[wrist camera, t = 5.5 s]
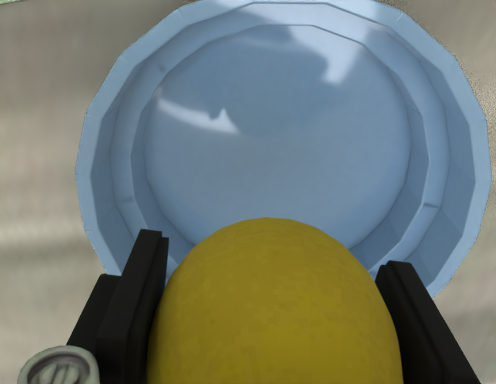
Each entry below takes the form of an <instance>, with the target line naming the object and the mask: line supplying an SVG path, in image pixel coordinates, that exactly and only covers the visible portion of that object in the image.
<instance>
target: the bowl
mask: <svg viewBox="0 0 496 384" xmlns="http://www.w3.org/2000/svg"><path fill="white" fill-rule="evenodd" d="M75 179H76V185H77V191H78V197H79V203H80V209H81V215H82V221H83V227H84V230H85V233H86V235H87V237H88V239H89V241H90V242H91V244H92V246H93V248H94V250H95V252H96V254H97V255H98V257H99V259H100V261H101V263H102V265H103V267H104V269H105V270H106V272H107V274H109V275H118V276H121V275H122V272H123V270H124V268H125V265H126V263H127V260H128V258H129V255H130V253H131V251H132V248H133V246H134V243H135V241H136V239H137V236H138V234H139V231H140V229H149V230H157V231H162V237H169V249H168V260H167V271H166V282H165V287H166V285H167V282H168V280H169V278H170V277H171V275H172V273H173V272H174V270H175V269H176V268H177V267H178V265H179V264H180V263H181V262H182V261H183V259H184V258H185V257H186V256H187V255H188V254H189V252H190V251H191V250H192V249H193V248H194V247H195V246H196V245H197V244H199V243H200V242H201V241H203V240H204V239H206V238H207V237H209V236H210V235H211V234H213V233H214V232H216V231H217V230H219V229H221V228H224V227H226V226H229V225H231V224H234V223H237V222H239V221H242V220H249V219H256V218H263V217H271V218H283V219H292V220H295V221H299V222H302V223H305V224H308V225H311V226H314V227H316V228H318V229H320V230H321V231H323V232H324V233H326V234H328V235H329V236H331V237H333V238H334V239H336V240H337V241H339V242H341V243H342V244H343V245H344V246H345V247H346V248H347V249H348V250H349V251H350V252H351V253H352V254H353V256H354V257H355V258H356V259H357V260H358V261H359V262H360V263H361V264H362V265H363V266H364V268H365V269H366V270H367V271H368V273H369V274H370V276H371V277H372V279H373V281H375V278H376V275H377V272H378V269H379V267H380V266H381V265H382V264H383V265H386V263H387V262H388V261H389V260H393V261H401V262H409V263H411V264H412V265H413V267H414V268H415V270H416V272H417V274H418V275H419V277H420V279H421V281H422V282H423V284H424V286H425V288H426V289H427V291H428V293H429V295H430V296H431V298H433V297H434V296H435V295H436V294H437V293H439V292H440V291H441V290H442V289H443V288H444V287H445V286H446V285H447V284H448V282H449V281H450V279H451V278H452V276H453V275H454V273H455V272H456V270H457V269H458V267H459V265H460V264H461V262H462V261H463V259H464V258H465V256H466V255H467V253H468V252H469V250H470V248H471V247H472V245H473V244H474V242H475V241H476V239H477V237H478V233H479V230H480V226H481V222H482V218H483V215H484V211H485V207H486V203H487V199H488V196H489V192H490V188H491V184H492V172H491V161H490V151H489V140H488V129H487V120H486V116H485V114H484V112H483V110H482V108H481V106H480V104H479V102H478V100H477V98H476V96H475V94H474V92H473V90H472V88H471V86H470V84H469V82H468V80H467V78H466V76H465V74H464V72H463V70H462V68H461V66H460V64H459V62H458V60H457V59H456V57H455V56H453V55H452V54H451V53H450V52H449V51H448V50H447V49H446V48H444V47H443V46H442V45H441V44H440V43H439V42H438V41H437V40H436V39H434V38H433V37H432V36H431V35H430V34H429V33H428V32H427V31H425V30H424V29H423V28H422V27H421V26H420V25H419V24H418V23H416V22H415V21H414V20H413V19H412V18H411V17H410V16H409V15H407V14H406V13H405V12H404V11H401V10H400V9H398V8H395V7H392V6H390V5H387V4H385V3H382V2H379V1H377V0H197V1H194V2H191V3H189V4H186V5H183V6H181V7H179V8H177V9H175V10H174V11H173V12H172V13H170V14H169V15H168V16H167V17H165V18H164V19H163V20H162V21H160V22H159V23H158V24H157V25H155V26H154V27H153V28H152V29H150V30H149V31H148V32H147V33H145V34H144V35H143V36H142V37H140V38H139V39H138V40H137V41H136V42H134V43H133V44H132V45H131V46H129V47H128V48H127V49H126V50H124V51H123V52H122V54H121V55H119V57H118V58H117V60H116V62H115V63H114V65H113V67H112V69H111V70H110V72H109V74H108V75H107V77H106V79H105V80H104V82H103V84H102V85H101V87H100V89H99V90H98V92H97V94H96V95H95V97H94V99H93V100H92V102H91V104H90V105H89V107H88V109H87V111H86V113H85V118H84V123H83V129H82V134H81V140H80V145H79V151H78V156H77V161H76V167H75Z"/></svg>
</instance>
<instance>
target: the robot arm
mask: <svg viewBox="0 0 496 384" xmlns="http://www.w3.org/2000/svg"><path fill="white" fill-rule="evenodd" d="M168 249H169V237H162V231H157V230H149V229H140V231H139V234H138V236H137V239H136V241H135V243H134V246H133V248H132V251H131V253H130V255H129V258H128V260H127V263H126V265H125V268H124V270H123V272H122V275H121V276H118V275H109V274H101V275H100V277H99V278H98V280H97V283H96V285H95V287H94V289H93V291H92V293H91V295H90V297H89V299H88V301H87V303H86V305H85V307H84V309H83V311H82V313H81V315H80V317H79V319H78V322H77V324H76V326H75V328H74V330H73V332H72V334H71V336H70V338H69V340H68V342H67V344H66V346H57V347H52V348H48V349H46V350H44V351H42V352H39V353H37V354H36V355H34V356H33V357H32V358H31V359H29V360H28V361H27V362H26V363H25V365H24V366H23V367H22V369H21V371H20V374H19V377H18V381H17V384H145V380H146V362H147V349H148V339H149V333H150V328H151V324H152V320H153V317H154V313H155V310H156V308H157V306H158V303H159V301H160V299H161V296H162V294H163V292H164V289H165V282H166V271H167V260H168ZM374 282H375V284H376V286H377V288H378V290H379V292H380V294H381V296H382V298H383V300H384V303H385V305H386V307H387V309H388V311H389V313H390V315H391V318H392V321H393V324H394V327H395V330H396V334H397V338H398V343H399V349H400V356H401V364H402V374H403V384H481V383H480V381H479V380H478V378H477V376H476V374H475V373H474V371H473V369H472V367H471V366H470V364H469V362H468V360H467V359H466V357H465V355H464V353H463V352H462V350H461V348H460V347H459V345H458V343H457V341H456V340H455V338H454V336H453V334H452V333H451V331H450V329H449V327H448V326H447V324H446V322H445V320H444V319H443V317H442V315H441V314H440V312H439V310H438V309H437V307H436V305H435V303H434V302H433V300H432V298H431V296H430V295H429V293H428V291H427V289H426V288H425V286H424V284H423V282H422V281H421V279H420V277H419V275H418V274H417V272H416V270H415V268H414V267H413V265H412V264H411V263H409V262H401V261H393V260H389V261H388V262H387V263H386V265H383V264H382V265H381V266H380V267H379V269H378V272H377V275H376V278H375V281H374Z"/></svg>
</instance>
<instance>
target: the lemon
mask: <svg viewBox="0 0 496 384" xmlns="http://www.w3.org/2000/svg"><path fill="white" fill-rule="evenodd" d="M145 384H403V374H402V364H401V356H400V349H399V343H398V338H397V334H396V330H395V327H394V324H393V321H392V318H391V315H390V313H389V311H388V309H387V307H386V305H385V303H384V300H383V298H382V296H381V294H380V292H379V290H378V288H377V286H376V284H375V282H374V281H373V279H372V277H371V276H370V274H369V273H368V271H367V270H366V269H365V268H364V266H363V265H362V264H361V263H360V262H359V261H358V260H357V259H356V258H355V257H354V256H353V254H352V253H351V252H350V251H349V250H348V249H347V248H346V247H345V246H344V245H343V244H342V243H341V242H339V241H337V240H336V239H334V238H333V237H331V236H329V235H328V234H326V233H324V232H323V231H321V230H320V229H318V228H316V227H314V226H311V225H308V224H305V223H302V222H299V221H295V220H292V219H283V218H271V217H263V218H256V219H249V220H242V221H239V222H237V223H234V224H231V225H229V226H226V227H224V228H221V229H219V230H217V231H216V232H214V233H213V234H211V235H210V236H209V237H207V238H206V239H204V240H203V241H201V242H200V243H199V244H197V245H196V246H195V247H194V248H193V249H192V250H191V251H190V252H189V254H188V255H187V256H186V257H185V258H184V259H183V261H182V262H181V263H180V264H179V265H178V267H177V268H176V269H175V270H174V272H173V273H172V275H171V277H170V278H169V280H168V282H167V285H166V287H165V289H164V292H163V294H162V296H161V299H160V301H159V303H158V306H157V308H156V310H155V313H154V317H153V320H152V324H151V328H150V333H149V339H148V349H147V362H146V380H145Z"/></svg>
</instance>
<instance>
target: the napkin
mask: <svg viewBox="0 0 496 384" xmlns="http://www.w3.org/2000/svg"><path fill="white" fill-rule="evenodd" d="M15 1H20V0H0V4H4V3H9V2H15Z"/></svg>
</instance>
